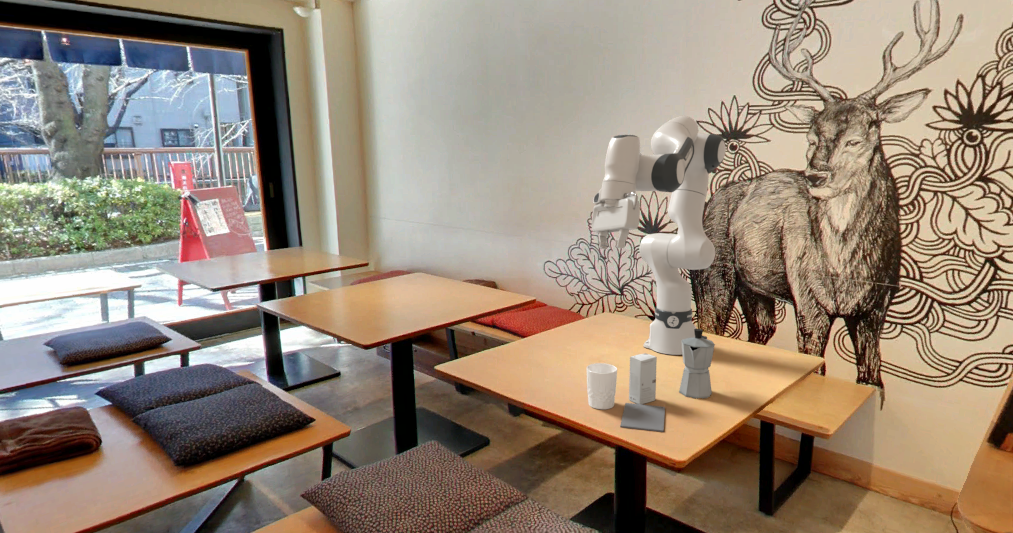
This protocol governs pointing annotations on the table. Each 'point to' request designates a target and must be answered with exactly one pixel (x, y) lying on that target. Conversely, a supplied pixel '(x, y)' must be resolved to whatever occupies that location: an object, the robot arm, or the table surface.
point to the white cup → (601, 385)
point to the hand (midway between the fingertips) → (611, 248)
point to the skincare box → (642, 378)
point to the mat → (643, 417)
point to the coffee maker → (696, 366)
